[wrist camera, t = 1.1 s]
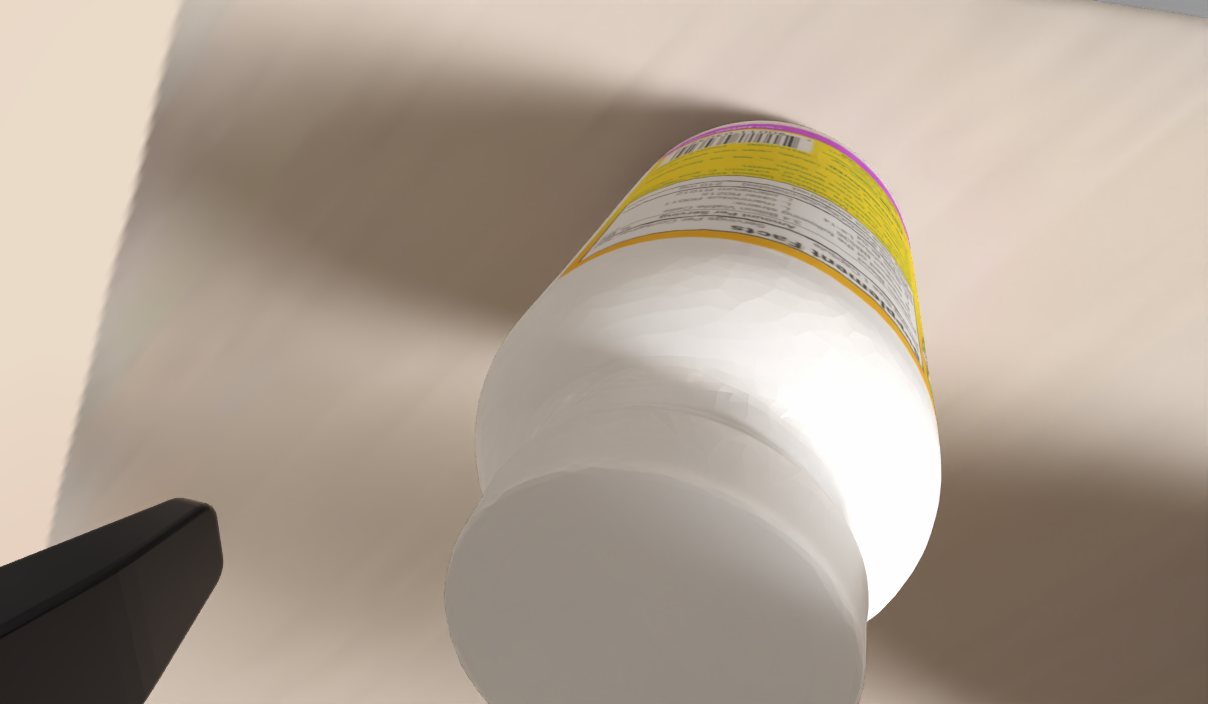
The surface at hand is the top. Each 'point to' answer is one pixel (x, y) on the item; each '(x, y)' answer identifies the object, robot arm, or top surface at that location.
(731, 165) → the supplement bottle
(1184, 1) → the tray
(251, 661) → the top surface
